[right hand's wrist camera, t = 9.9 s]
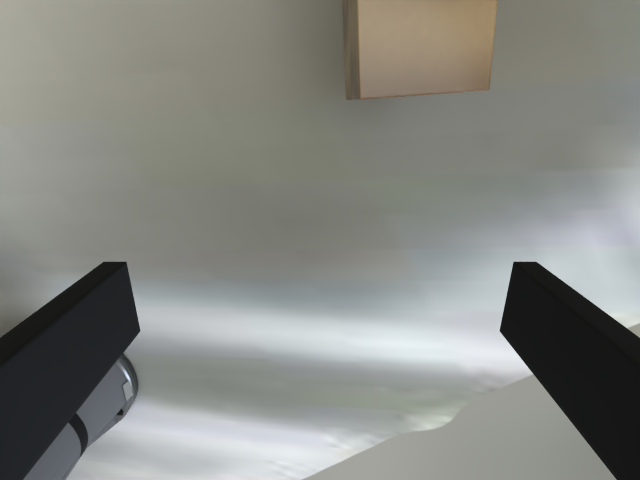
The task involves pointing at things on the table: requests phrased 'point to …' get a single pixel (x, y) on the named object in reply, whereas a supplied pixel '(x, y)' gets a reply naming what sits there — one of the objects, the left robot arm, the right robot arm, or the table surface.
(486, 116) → the table surface
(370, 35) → the box
